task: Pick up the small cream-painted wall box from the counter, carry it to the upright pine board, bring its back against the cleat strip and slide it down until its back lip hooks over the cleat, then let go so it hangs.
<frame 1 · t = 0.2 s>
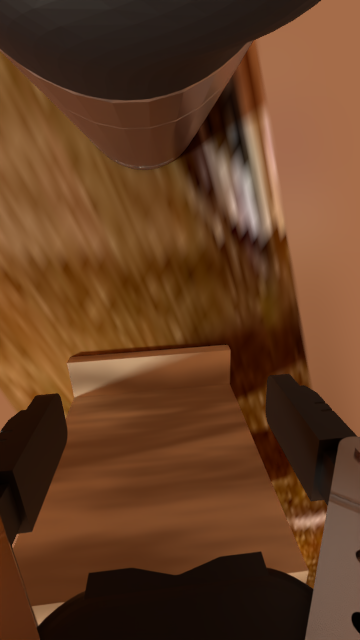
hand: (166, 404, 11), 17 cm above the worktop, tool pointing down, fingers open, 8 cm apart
cleat board: (154, 391, 32), on the worktop
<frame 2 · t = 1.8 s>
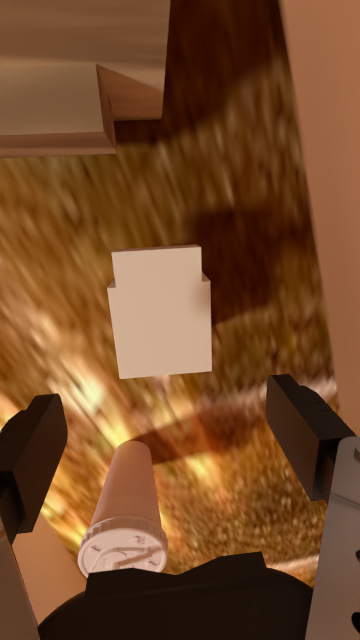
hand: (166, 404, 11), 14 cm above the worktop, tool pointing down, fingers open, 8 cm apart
wall box: (160, 301, 25), on the worktop
smoothie: (132, 453, 30), on the worktop
cleat board: (39, 105, 19), on the worktop
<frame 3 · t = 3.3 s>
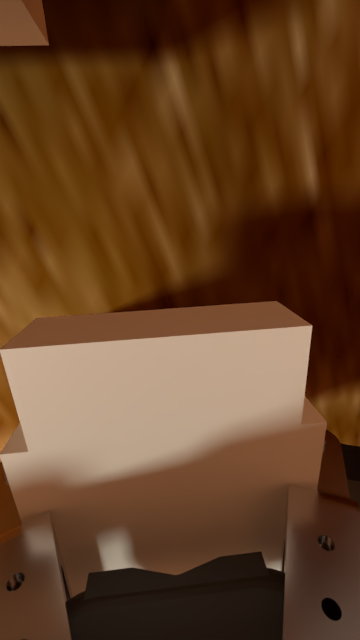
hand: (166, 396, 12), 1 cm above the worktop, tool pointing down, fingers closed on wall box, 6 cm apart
wall box: (165, 379, 13), on the worktop, touching gripper
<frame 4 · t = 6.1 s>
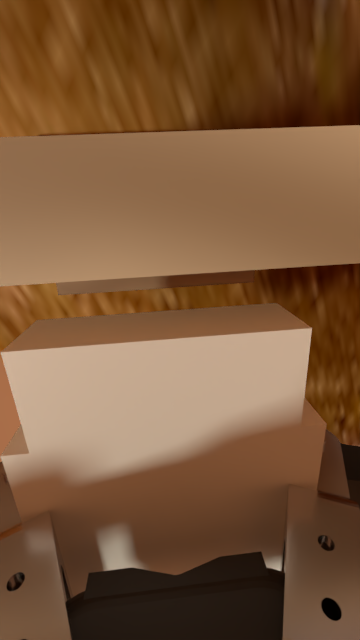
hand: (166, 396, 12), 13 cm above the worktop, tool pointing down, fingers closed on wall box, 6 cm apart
wall box: (165, 380, 13), point 11 cm above the worktop, touching gripper
cleat board: (153, 216, 21), on the worktop
when the fingers open (4 cm above the worktop, at t = 8.7 s): wall box stays where it is, resting on cleat board.
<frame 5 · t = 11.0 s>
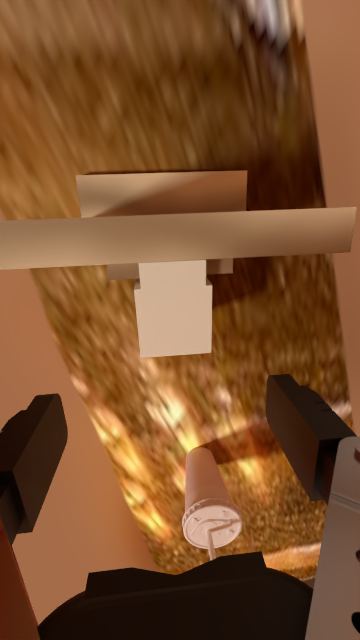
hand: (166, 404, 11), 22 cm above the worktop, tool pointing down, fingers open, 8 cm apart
wall box: (170, 294, 30), point 2 cm above the worktop, tilted 5°, touching cleat board
smoothie: (199, 456, 40), on the worktop
cleat board: (165, 228, 30), on the worktop
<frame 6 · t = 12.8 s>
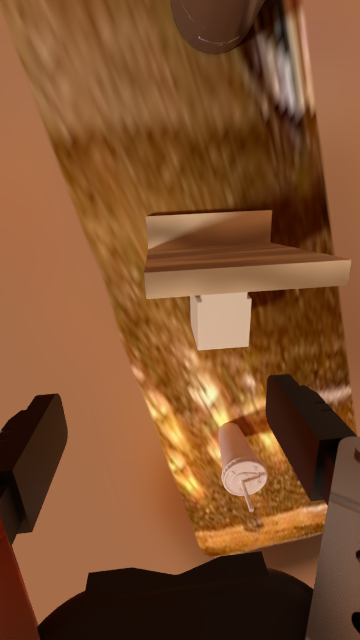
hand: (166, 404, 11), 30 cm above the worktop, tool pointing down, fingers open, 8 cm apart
wall box: (212, 303, 39), point 2 cm above the worktop, tilted 5°, touching cleat board
smoothie: (228, 430, 50), on the worktop
cleat board: (208, 252, 39), on the worktop
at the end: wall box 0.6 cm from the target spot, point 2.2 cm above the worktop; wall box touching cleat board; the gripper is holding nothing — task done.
